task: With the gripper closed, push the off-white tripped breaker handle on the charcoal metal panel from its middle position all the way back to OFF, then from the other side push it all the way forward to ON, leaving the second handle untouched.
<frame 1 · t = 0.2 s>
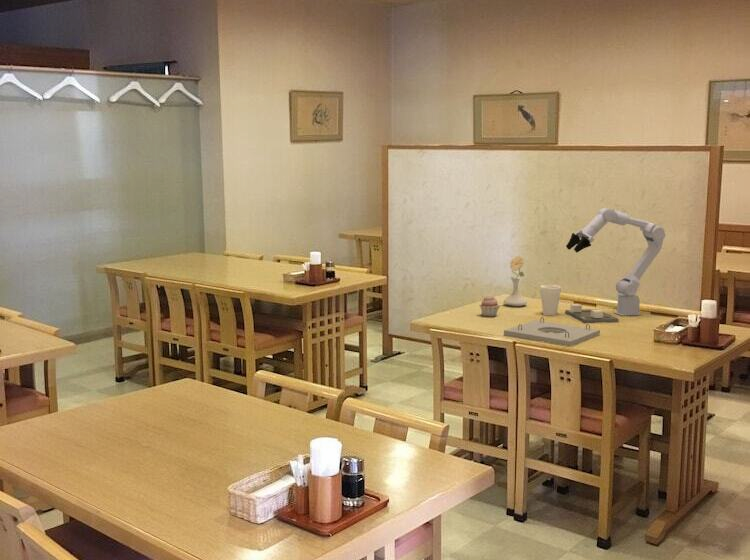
hand: (571, 249, 375), 31 cm above the table, tool tilted 45°, fingers open, 7 cm apart
flower in vase: (515, 306, 404), on the table
tripped handle: (596, 313, 370), point 3 cm above the table, slide at 4.0 cm
mounting panel: (551, 336, 342), on the table
second handle: (576, 308, 383), point 3 cm above the table, slide at 8.0 cm
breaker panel: (591, 317, 377), on the table
cupcake: (489, 316, 380), on the table
foam cup: (549, 314, 384), on the table
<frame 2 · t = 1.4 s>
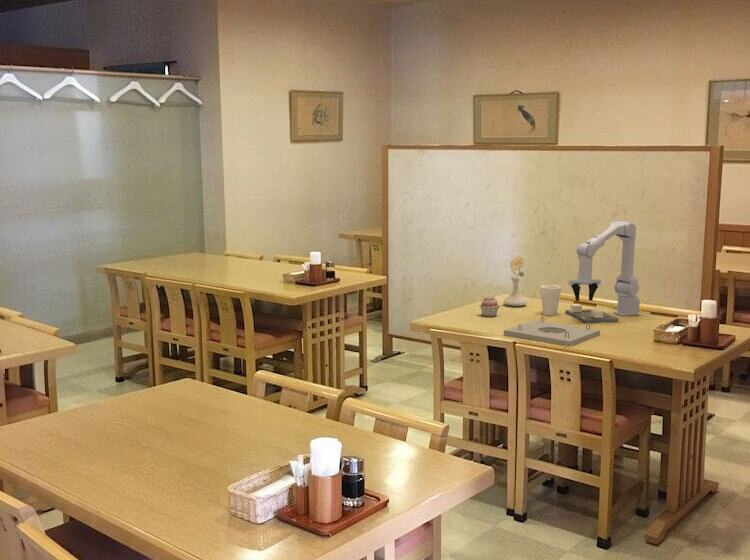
hand: (583, 300, 368), 9 cm above the table, tool pointing down, fingers open, 6 cm apart
nothing on the table moved.
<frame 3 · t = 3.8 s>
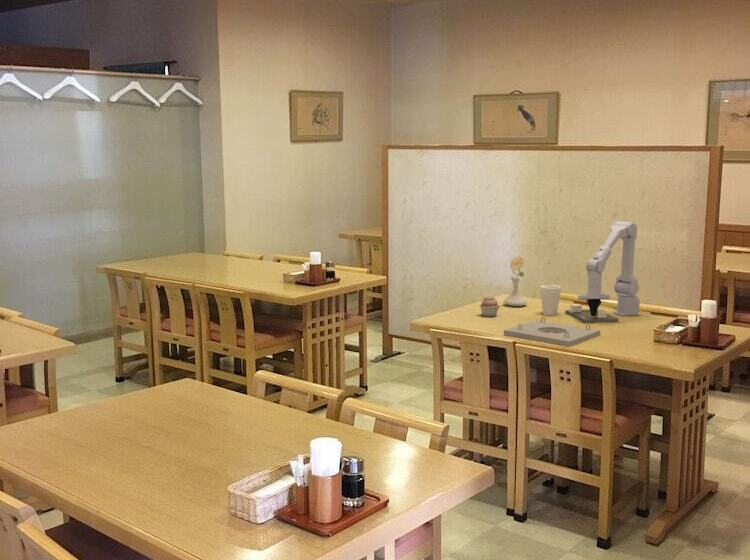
hand: (593, 315, 369), 2 cm above the table, tool pointing down, fingers closed
tripped handle: (600, 313, 370), point 3 cm above the table, slide at 2.4 cm, touching gripper
everything else where it was.
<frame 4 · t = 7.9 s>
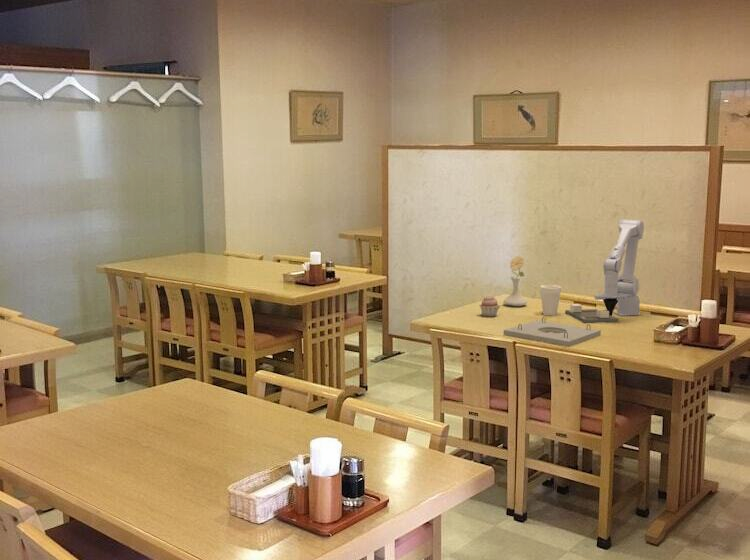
hand: (609, 315, 371), 2 cm above the table, tool pointing down, fingers closed
tripped handle: (602, 313, 370), point 3 cm above the table, slide at 1.2 cm, touching gripper
everything else where it was.
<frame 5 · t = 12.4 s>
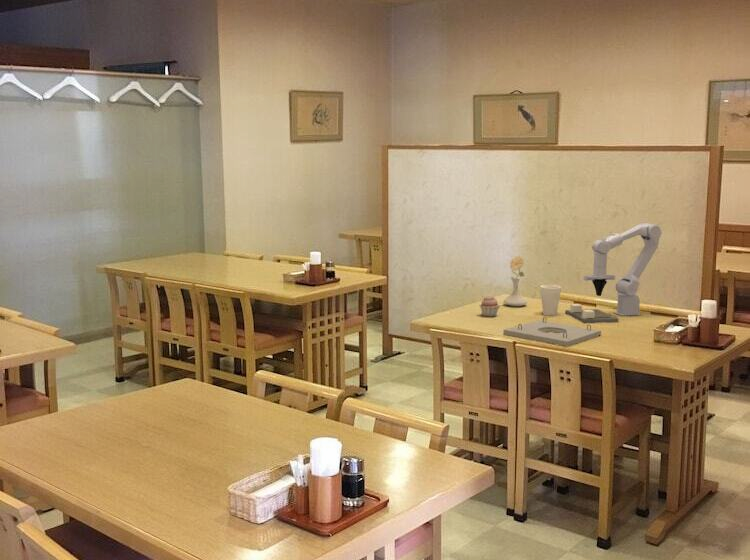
hand: (598, 295, 380), 9 cm above the table, tool pointing down, fingers closed
tripped handle: (588, 314, 369), point 3 cm above the table, slide at 8.1 cm
everything else where it was.
at the end: tripped handle slide at 8.1 cm; second handle slide at 8.0 cm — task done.
